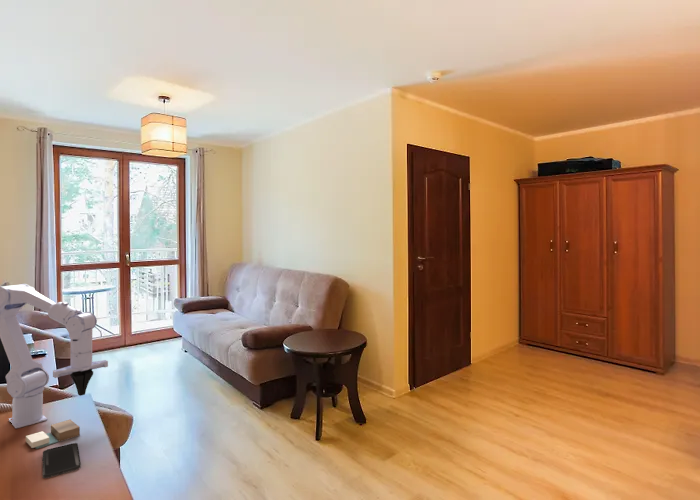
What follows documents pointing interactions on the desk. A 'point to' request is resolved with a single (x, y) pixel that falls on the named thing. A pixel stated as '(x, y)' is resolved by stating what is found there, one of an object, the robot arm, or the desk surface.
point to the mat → (51, 441)
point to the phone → (60, 460)
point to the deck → (65, 430)
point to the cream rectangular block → (37, 439)
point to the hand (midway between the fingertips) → (81, 394)
